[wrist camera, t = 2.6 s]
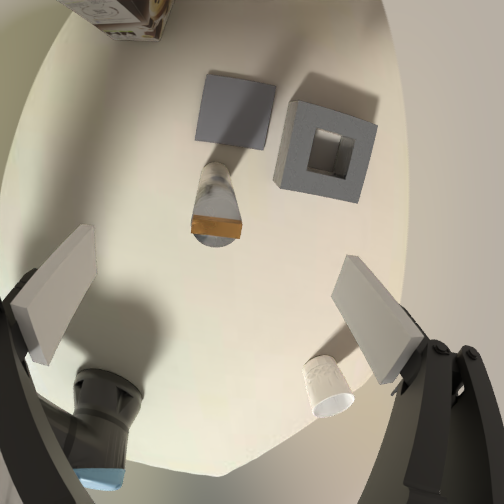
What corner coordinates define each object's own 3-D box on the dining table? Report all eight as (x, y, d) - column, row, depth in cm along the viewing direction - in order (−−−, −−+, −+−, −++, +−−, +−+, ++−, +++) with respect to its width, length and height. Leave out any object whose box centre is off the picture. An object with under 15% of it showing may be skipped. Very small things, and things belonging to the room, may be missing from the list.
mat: (195, 140, 31) (194, 140, 30) (206, 74, 27) (206, 74, 27) (262, 149, 32) (263, 150, 32) (275, 86, 29) (276, 86, 28)
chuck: (272, 180, 34) (279, 188, 31) (289, 102, 30) (298, 100, 26) (344, 194, 36) (357, 203, 33) (362, 123, 32) (377, 125, 28)
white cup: (316, 348, 49) (333, 390, 40) (344, 357, 52) (363, 395, 43) (291, 374, 52) (303, 415, 43) (320, 380, 54) (334, 418, 45)
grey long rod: (199, 187, 33) (187, 249, 19) (203, 160, 32) (193, 200, 17) (226, 191, 34) (238, 255, 19) (231, 164, 33) (247, 207, 18)
